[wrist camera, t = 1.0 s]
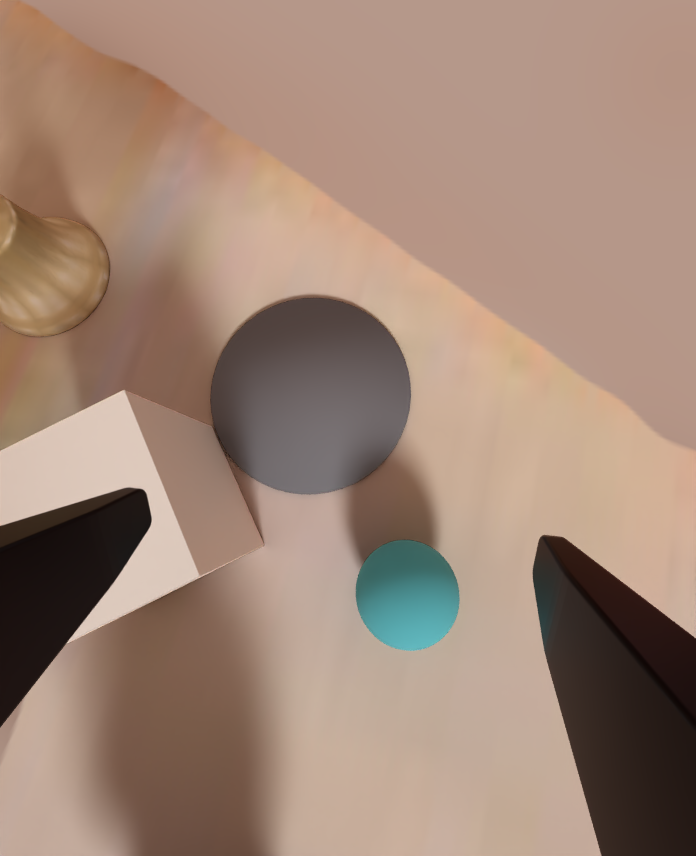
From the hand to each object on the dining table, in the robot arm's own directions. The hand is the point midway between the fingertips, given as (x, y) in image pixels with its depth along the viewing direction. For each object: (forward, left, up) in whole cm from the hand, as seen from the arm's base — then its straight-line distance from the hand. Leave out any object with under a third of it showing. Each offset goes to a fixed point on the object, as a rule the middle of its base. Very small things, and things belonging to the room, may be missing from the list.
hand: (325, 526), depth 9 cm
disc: (+1, +7, -14) cm, 16 cm away
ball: (+1, -5, -12) cm, 13 cm away
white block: (-9, +4, -14) cm, 18 cm away
